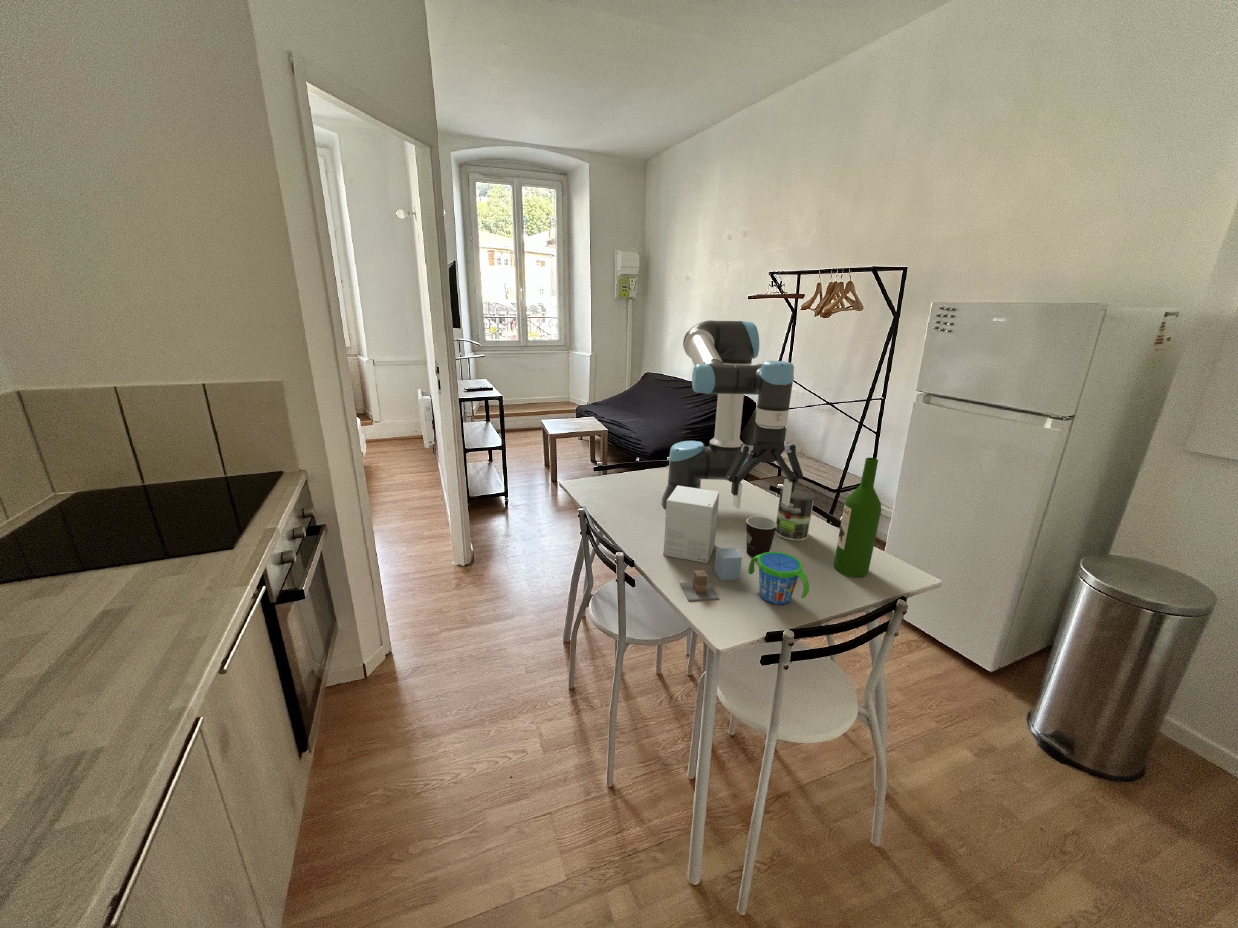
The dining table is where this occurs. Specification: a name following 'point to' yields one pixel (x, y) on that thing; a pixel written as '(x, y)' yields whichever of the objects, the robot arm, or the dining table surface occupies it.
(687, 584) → the grey square base
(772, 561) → the snack cup
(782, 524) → the coffee can
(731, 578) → the light blue block
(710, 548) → the supplement box
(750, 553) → the coffee mug
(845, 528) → the wine bottle
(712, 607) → the dining table surface
